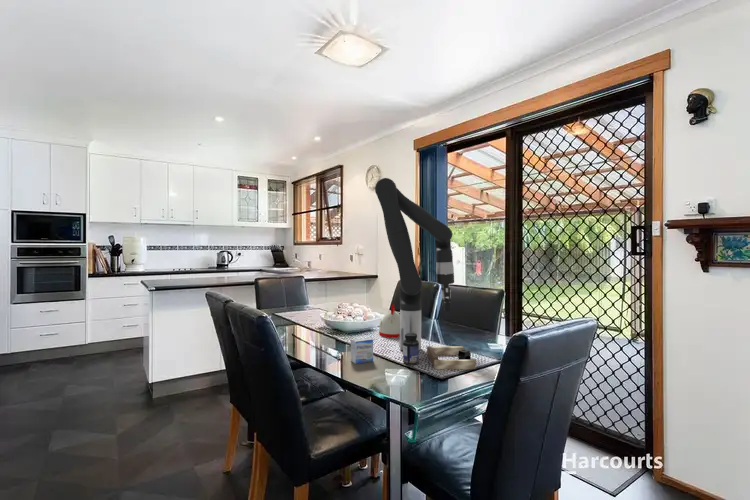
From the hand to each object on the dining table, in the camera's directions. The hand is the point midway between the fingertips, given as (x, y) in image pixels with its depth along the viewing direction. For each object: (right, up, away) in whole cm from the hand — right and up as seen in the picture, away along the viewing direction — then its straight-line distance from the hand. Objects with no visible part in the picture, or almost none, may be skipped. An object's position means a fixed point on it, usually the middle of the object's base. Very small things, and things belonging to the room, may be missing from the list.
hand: (446, 309), depth 164 cm
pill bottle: (-17, -18, -17) cm, 30 cm away
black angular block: (+4, -19, -15) cm, 24 cm away
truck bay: (-2, -18, -15) cm, 23 cm away
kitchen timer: (-22, -17, +28) cm, 39 cm away
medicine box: (-36, -18, -16) cm, 43 cm away
